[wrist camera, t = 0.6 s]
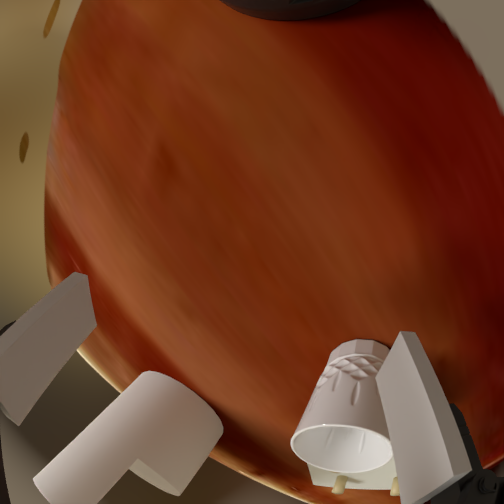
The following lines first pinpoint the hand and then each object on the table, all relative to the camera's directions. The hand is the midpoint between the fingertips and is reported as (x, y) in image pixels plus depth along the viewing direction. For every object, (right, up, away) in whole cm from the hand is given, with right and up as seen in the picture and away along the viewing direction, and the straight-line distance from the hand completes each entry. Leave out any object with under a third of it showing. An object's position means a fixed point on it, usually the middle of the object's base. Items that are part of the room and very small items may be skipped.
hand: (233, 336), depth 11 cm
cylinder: (-12, -23, +32) cm, 41 cm away
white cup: (+11, -7, +14) cm, 19 cm away
